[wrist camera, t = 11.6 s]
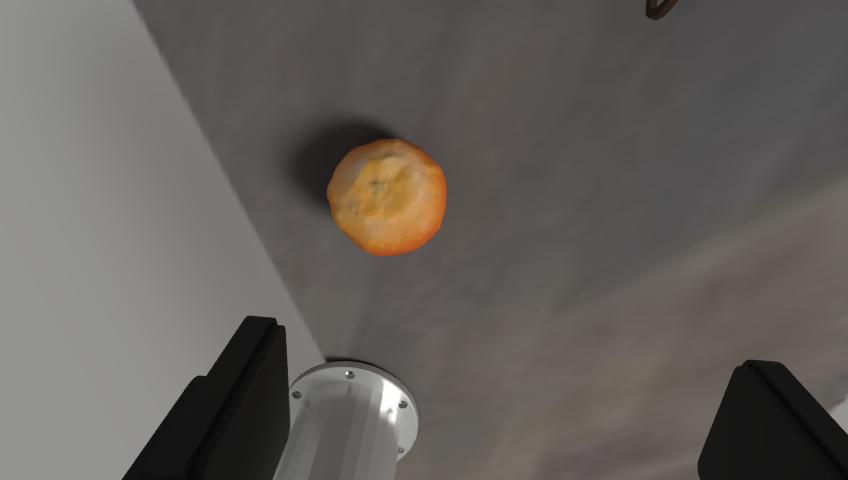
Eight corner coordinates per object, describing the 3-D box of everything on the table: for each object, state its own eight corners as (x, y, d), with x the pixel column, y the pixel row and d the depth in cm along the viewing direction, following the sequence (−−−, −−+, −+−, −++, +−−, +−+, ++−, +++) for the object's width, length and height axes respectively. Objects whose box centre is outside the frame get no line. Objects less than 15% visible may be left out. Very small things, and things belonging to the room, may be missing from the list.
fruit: (353, 265, 40) (321, 257, 32) (346, 167, 41) (313, 135, 33) (456, 255, 39) (449, 244, 32) (446, 155, 40) (437, 119, 33)
